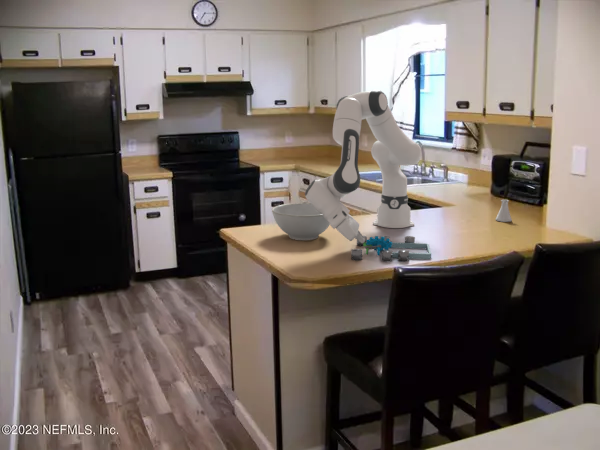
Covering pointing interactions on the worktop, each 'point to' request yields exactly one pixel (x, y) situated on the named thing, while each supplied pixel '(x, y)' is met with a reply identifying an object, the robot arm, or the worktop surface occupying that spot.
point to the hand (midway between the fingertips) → (364, 241)
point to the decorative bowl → (300, 220)
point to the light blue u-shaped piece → (413, 245)
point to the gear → (377, 244)
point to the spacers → (384, 251)
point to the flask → (504, 212)
